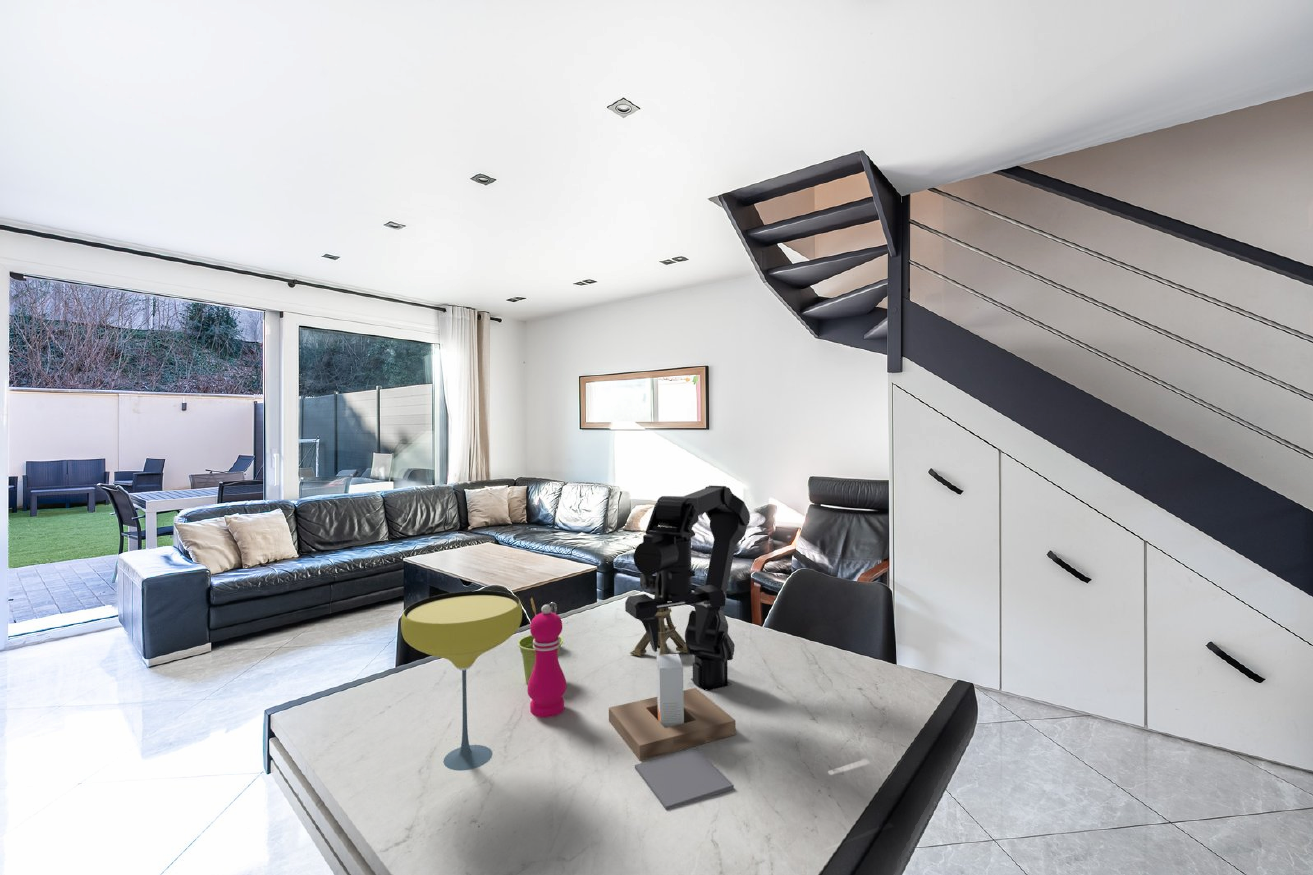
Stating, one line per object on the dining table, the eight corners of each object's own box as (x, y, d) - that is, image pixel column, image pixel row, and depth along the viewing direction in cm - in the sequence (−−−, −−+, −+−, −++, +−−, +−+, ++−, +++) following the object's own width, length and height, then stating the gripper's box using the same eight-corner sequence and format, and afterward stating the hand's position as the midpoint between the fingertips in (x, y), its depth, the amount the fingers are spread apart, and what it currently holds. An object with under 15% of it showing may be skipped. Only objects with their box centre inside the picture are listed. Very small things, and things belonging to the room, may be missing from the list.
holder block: (695, 700, 110) (695, 687, 110) (735, 734, 97) (735, 720, 97) (608, 721, 102) (608, 707, 102) (639, 761, 90) (639, 745, 90)
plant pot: (568, 673, 124) (568, 633, 124) (556, 692, 114) (556, 649, 114) (526, 672, 125) (526, 632, 125) (511, 691, 115) (511, 648, 115)
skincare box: (656, 720, 103) (656, 654, 103) (680, 718, 103) (679, 653, 103) (660, 738, 97) (659, 667, 97) (684, 736, 97) (684, 666, 97)
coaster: (696, 751, 93) (696, 747, 93) (733, 789, 83) (733, 784, 83) (634, 768, 88) (634, 764, 88) (665, 811, 78) (665, 806, 78)
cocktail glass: (455, 814, 78) (453, 632, 78) (378, 774, 87) (376, 612, 87) (547, 751, 93) (545, 599, 93) (472, 723, 103) (470, 585, 102)
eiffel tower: (656, 640, 143) (655, 541, 143) (691, 649, 137) (690, 546, 137) (630, 653, 135) (629, 548, 135) (666, 663, 128) (665, 553, 128)
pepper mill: (558, 722, 103) (557, 611, 102) (521, 718, 104) (519, 609, 104) (572, 703, 110) (570, 600, 110) (537, 700, 111) (535, 598, 111)
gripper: (698, 551, 117) (699, 626, 117) (614, 560, 109) (614, 641, 109) (727, 561, 107) (728, 644, 107) (636, 572, 99) (637, 661, 99)
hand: (677, 646), depth 106 cm, fingers open, 9 cm apart
